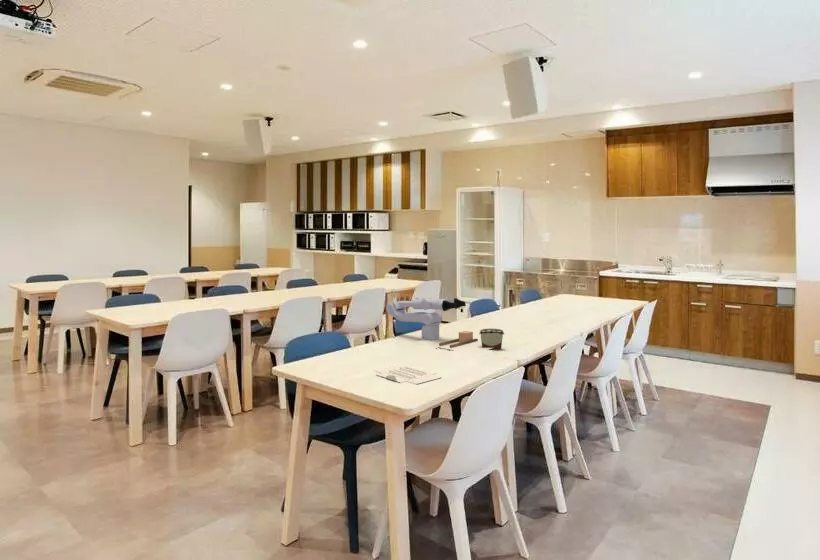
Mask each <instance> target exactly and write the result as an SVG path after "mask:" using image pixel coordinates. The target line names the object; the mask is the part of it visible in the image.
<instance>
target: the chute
mask: <svg viewBox="0 0 820 560" xmlns="http://www.w3.org/2000/svg"><path fill="white" fill-rule="evenodd" d="M478 341H479V339H478V338H473V339H472V340H468V341H464V342H459V337H458V338H455V339H451V340H447V341H443V342H440V343H438V345H439V347H438V346H437V348H438V349H442V350H447V351H452V352H455V350H454V348H457V347H460V346H464V345H468V344H472V343H476V342H478ZM448 345H449V348H443V347H442V346H448Z"/></svg>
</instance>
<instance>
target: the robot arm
mask: <svg viewBox="0 0 820 560" xmlns="http://www.w3.org/2000/svg"><path fill="white" fill-rule="evenodd" d="M462 307H466V301H464V300H460V299H459V298H457V297H456V298H453V300H452V299H451V298H450V299H449V296H446V297H444V298H425V297H422V298H419V297H415V298H414V299H413V300H400V301H394V302H389V303H387V304H386V307H385V308H386V313H387V314H388V315H389V316H390V317H393V318H394V319H396V320H397V321H399V322H407V323H409V322H411V323H421V324H423V325H422V327H421V341H424V340H429V341H439V340H440V324H441V322H442V321H443V316H442V313H441V312H439V311H443V312H447V311H450V310H452V309H455V310H457V309H460V308H462ZM406 308H412V309H414V310H423V311H427V310H433V312H430V313H429V312H428V313H418V312H417V313H415V312H414V313H413V312H411V313H410V312H407V310H406ZM434 310H435V312H434ZM436 310H439V311H436Z"/></svg>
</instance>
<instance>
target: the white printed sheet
mask: <svg viewBox="0 0 820 560" xmlns="http://www.w3.org/2000/svg"><path fill="white" fill-rule="evenodd" d="M374 371H376V372H375V373H378V372H379V373H378V374H376V376H379V377H382V378H386V379H389V380H392V381H395V382H398V383H400V384H403V383H410V384H413V385H418V384H421V383H425V382H426V383H427V382H429V381H433V380H437V379H442V377H441V376H438V375H437V374H438V373H437V372H434V371H431V370H427V369H425V368H420V367H417V366H413V365H412V366H403V365H399V364H396V365H391V366H388V367H382V368H380V369H379V368H378V369H373V372H374Z"/></svg>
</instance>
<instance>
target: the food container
mask: <svg viewBox="0 0 820 560" xmlns="http://www.w3.org/2000/svg"><path fill="white" fill-rule="evenodd" d="M478 334H479V335H480V341H481V349H482V348H484V349H485V348H490V349H488V351H502V346H503V345H502V344H503V337H504V336H503V335H505V333H504V330H502V329H500V328H482V329H480V330H479V333H478Z"/></svg>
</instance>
